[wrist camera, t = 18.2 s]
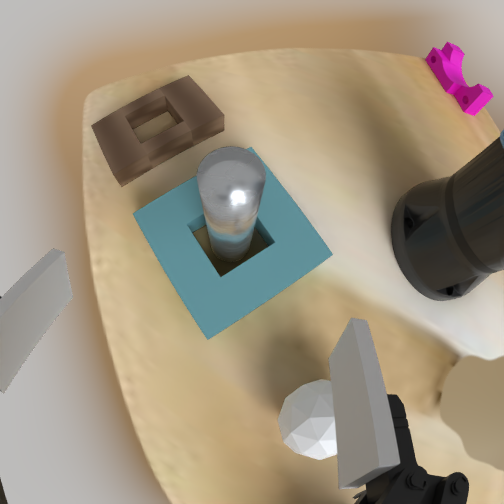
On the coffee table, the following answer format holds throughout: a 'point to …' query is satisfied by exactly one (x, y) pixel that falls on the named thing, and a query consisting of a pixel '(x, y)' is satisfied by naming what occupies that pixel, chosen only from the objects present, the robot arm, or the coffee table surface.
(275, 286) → the seat block
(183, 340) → the coffee table surface
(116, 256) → the coffee table surface
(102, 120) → the brown rectangular frame
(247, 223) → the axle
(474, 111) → the magenta curved bracket
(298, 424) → the geometric ball
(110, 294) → the coffee table surface
